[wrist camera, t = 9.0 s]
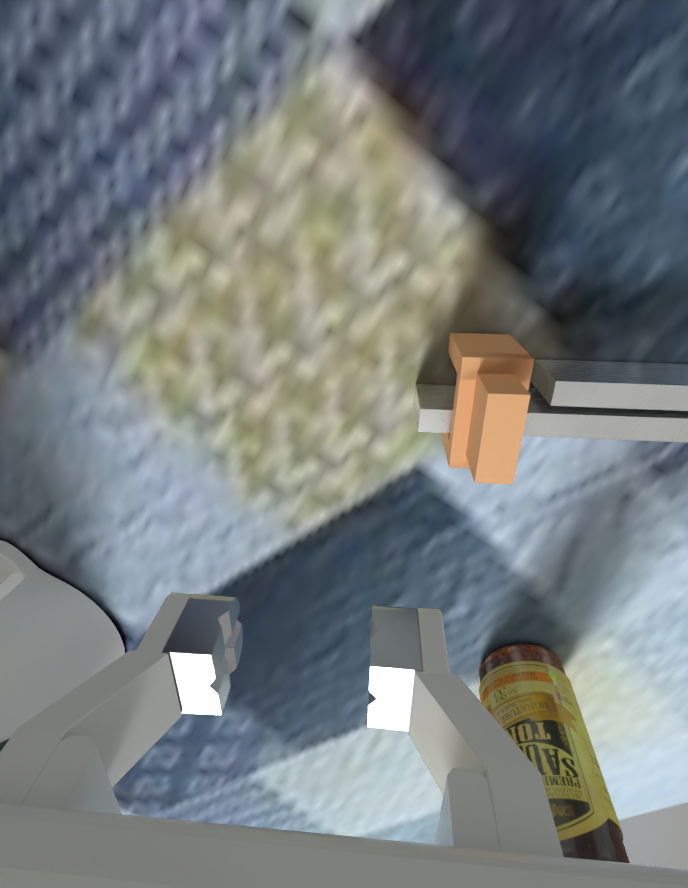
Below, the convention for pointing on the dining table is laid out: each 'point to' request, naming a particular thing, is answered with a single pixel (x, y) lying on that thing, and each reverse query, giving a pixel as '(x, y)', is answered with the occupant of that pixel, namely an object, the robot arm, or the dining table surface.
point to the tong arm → (612, 384)
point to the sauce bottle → (554, 746)
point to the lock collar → (488, 405)
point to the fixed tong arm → (561, 418)
